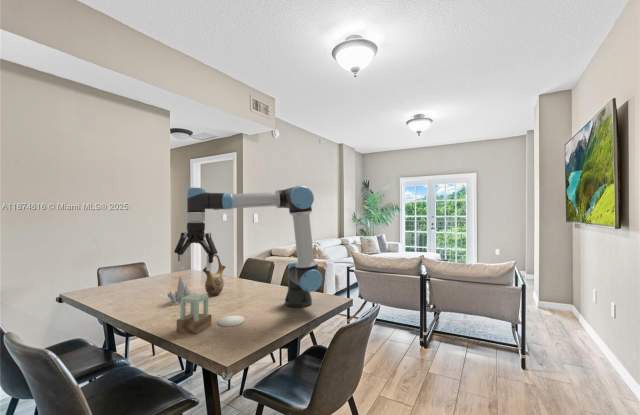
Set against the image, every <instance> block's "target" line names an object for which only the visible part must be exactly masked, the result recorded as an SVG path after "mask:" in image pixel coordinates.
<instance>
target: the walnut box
mask: <svg viewBox="0 0 640 415" xmlns="http://www.w3.org/2000/svg"><path fill="white" fill-rule="evenodd" d="M210 327H212V314H209V313H208V316H203V313H199V320H198V321H194V315H191V313H188V314H187V315H185V319H184V320H180V318H179V319H177V320H176V333H181V334H188V335H189V334H191V335H199V334H200V333H202V332H204V331H205V330H206V329H207V330H208V329H209V328H210Z"/></svg>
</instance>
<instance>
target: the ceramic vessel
mask: <svg viewBox="0 0 640 415" xmlns="http://www.w3.org/2000/svg"><path fill="white" fill-rule="evenodd" d="M214 257H216V259H217V262H218V269H217V271H216V272H215V273H214V274H213V273H212V272H211V270H209V271H206V266H205V267H204V268H202V272H203V273H205V275H206V280H205V281H204V282H205V285H204V289H205V292H206V294H207V295H208V296H211V297H214V296H218V295H220V294H221V293H222V291H223V289H224V286H225V281H224V278H223V272H224V271H225V269H226V267H227V266H225V265H223V264H222V263H221V260H220V257H219V255H218V254H214V255H213V258H214Z"/></svg>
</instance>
